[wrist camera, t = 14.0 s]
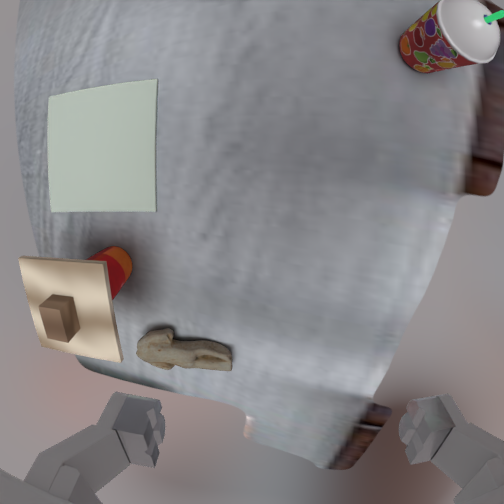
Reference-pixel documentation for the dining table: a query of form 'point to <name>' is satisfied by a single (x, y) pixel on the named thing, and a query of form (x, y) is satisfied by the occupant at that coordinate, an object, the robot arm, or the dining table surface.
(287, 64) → the dining table surface
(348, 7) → the dining table surface
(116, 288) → the paper cup
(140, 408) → the robot arm
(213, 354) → the sculpture
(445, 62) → the smoothie
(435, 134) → the dining table surface
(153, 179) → the mat
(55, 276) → the lid
